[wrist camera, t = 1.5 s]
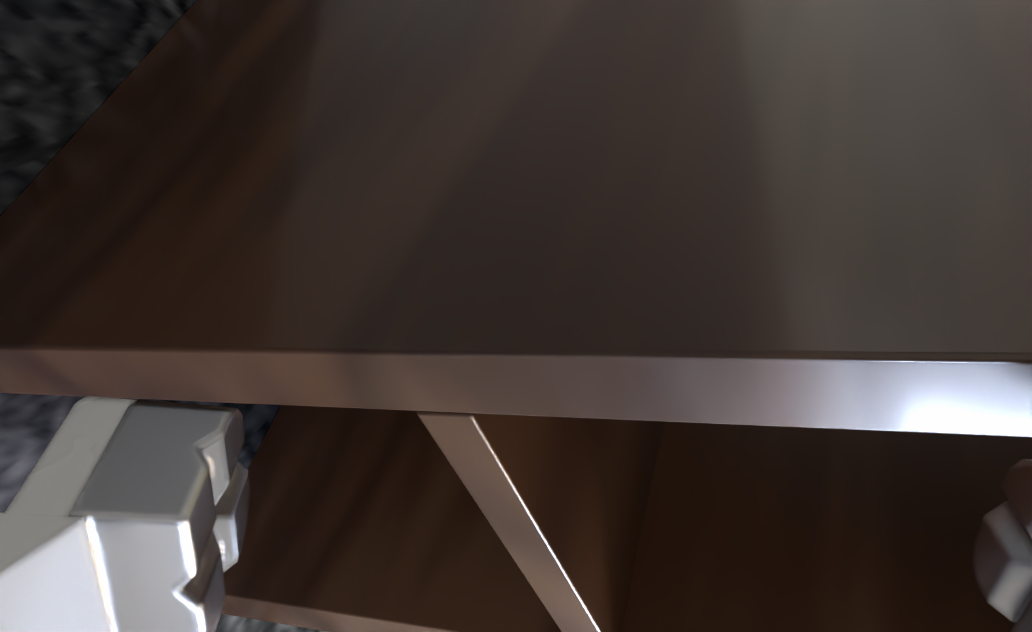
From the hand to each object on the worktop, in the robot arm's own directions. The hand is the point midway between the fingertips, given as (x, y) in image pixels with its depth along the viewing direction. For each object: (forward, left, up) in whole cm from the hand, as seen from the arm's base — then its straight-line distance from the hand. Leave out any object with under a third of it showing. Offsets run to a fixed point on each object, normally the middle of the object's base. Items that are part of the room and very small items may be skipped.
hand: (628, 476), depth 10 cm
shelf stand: (-6, -9, -16) cm, 19 cm away
